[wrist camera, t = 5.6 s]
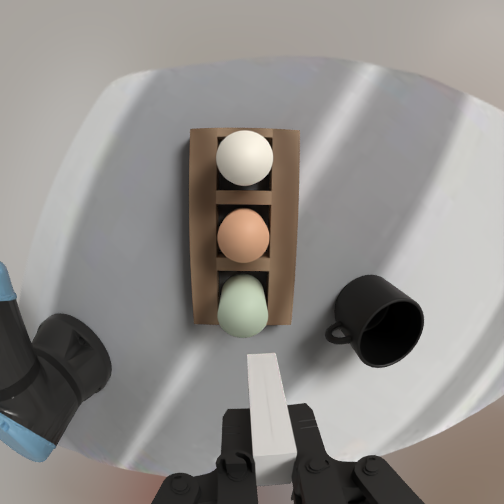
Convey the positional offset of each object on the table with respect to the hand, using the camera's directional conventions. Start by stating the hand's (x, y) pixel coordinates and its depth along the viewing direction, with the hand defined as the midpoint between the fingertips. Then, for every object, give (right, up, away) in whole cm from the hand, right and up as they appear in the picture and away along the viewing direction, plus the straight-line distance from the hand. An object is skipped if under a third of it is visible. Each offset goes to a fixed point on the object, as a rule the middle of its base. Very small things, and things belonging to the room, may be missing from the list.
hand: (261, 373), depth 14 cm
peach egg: (-2, +9, +18) cm, 21 cm away
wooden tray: (-2, +10, +19) cm, 21 cm away
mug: (+14, -1, +22) cm, 27 cm away
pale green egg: (-2, +2, +18) cm, 19 cm away
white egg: (-1, +16, +15) cm, 22 cm away
